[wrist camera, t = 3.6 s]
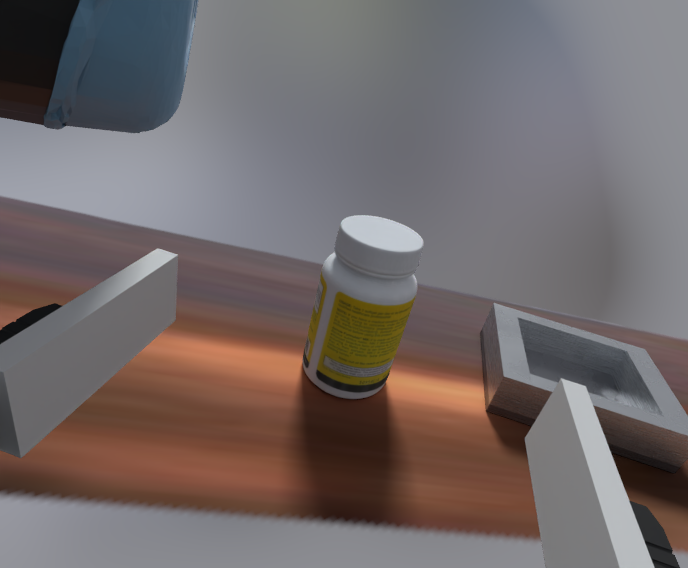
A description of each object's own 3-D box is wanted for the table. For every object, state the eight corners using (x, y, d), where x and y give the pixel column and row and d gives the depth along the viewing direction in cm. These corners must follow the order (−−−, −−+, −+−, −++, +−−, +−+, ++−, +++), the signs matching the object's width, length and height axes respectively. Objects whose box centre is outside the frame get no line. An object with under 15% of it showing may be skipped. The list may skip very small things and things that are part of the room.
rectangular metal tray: (486, 410, 24) (503, 376, 23) (480, 332, 31) (493, 303, 30) (674, 473, 23) (703, 440, 22) (625, 378, 30) (645, 349, 29)
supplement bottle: (402, 386, 24) (454, 251, 20) (333, 413, 22) (377, 262, 18) (351, 335, 27) (387, 209, 23) (285, 353, 25) (312, 212, 21)
